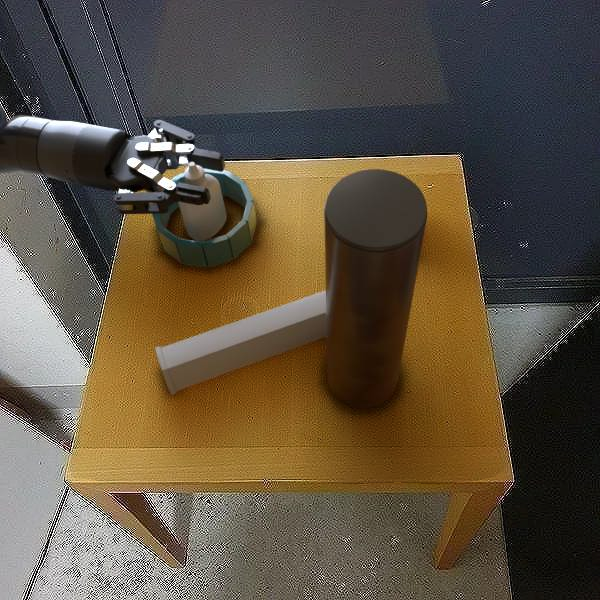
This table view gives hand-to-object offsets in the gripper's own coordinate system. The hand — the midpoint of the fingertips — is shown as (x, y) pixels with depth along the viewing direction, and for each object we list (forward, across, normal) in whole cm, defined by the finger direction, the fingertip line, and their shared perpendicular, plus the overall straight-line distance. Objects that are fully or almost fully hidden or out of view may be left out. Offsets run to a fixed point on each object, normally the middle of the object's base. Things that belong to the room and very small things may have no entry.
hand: (215, 179), depth 82 cm
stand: (+22, -16, +10) cm, 29 cm away
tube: (+10, -15, +10) cm, 21 cm away
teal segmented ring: (-3, 0, +10) cm, 10 cm away
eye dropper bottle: (-3, 0, +10) cm, 11 cm away
